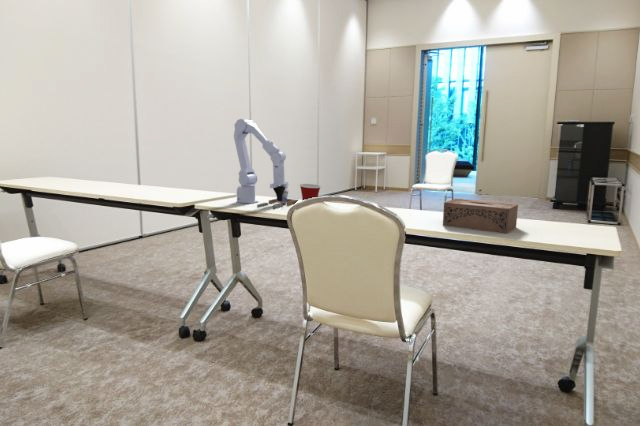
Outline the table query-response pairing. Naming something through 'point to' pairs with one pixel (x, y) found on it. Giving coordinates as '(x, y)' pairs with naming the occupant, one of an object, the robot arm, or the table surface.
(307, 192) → the plastic cup
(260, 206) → the checker cradle
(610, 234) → the table surface
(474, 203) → the tissue box cover
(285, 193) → the pill bottle
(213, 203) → the table surface
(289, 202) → the walnut trough
